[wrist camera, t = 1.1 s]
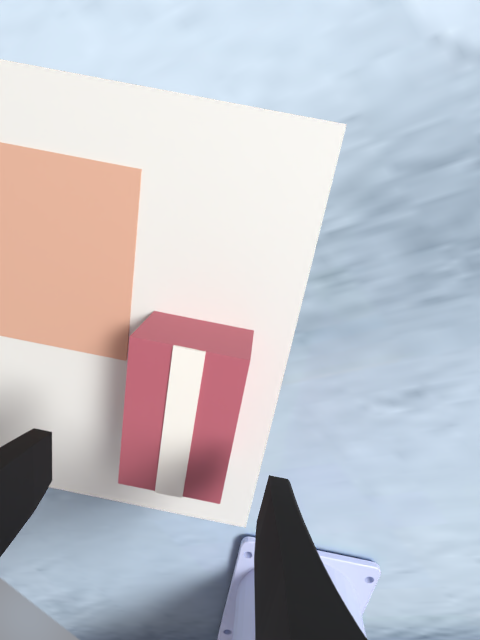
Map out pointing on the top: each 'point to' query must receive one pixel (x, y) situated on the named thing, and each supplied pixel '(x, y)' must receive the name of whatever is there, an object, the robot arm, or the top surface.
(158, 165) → the mat
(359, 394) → the top surface
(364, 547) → the top surface
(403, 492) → the top surface
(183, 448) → the card box
